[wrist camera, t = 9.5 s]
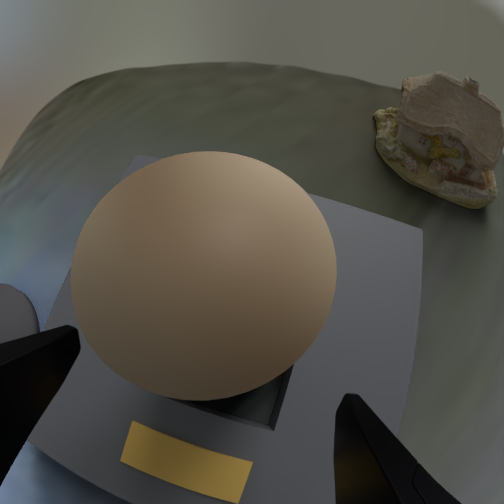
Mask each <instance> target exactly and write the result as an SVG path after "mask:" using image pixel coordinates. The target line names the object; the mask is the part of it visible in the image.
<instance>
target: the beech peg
mask: <svg viewBox="0 0 504 504" xmlns="http://www.w3.org/2000/svg"><path fill="white" fill-rule="evenodd" d="M336 278H337V265H336V254H335V248H334V243H333V239H332V236H331V233H330V231H329V228H328V225H327V223H326V221H325V219H324V217H323V215H322V213H321V212H320V210H319V209H318V207H317V206H316V204H315V203H314V201H313V200H312V199H311V198H310V196H309V195H308V194H307V193H306V192H305V191H304V190H303V189H302V188H301V187H300V186H299V185H298V184H297V183H296V182H294V181H293V180H292V179H291V178H289V177H288V176H286V175H285V174H284V173H282V172H281V171H279V170H277V169H275V168H273V167H272V166H270V165H268V164H266V163H263V162H261V161H258V160H256V159H253V158H250V157H246V156H242V155H238V154H232V153H226V152H212V151H205V152H191V153H185V154H179V155H175V156H171V157H167V158H164V159H161V160H159V161H156V162H153V163H151V164H149V165H147V166H145V167H143V168H141V169H139V170H137V171H135V172H134V173H132V174H131V175H129V176H128V177H126V178H125V179H123V180H122V181H121V182H120V183H118V184H117V185H116V186H115V187H113V188H112V189H111V190H110V191H109V192H108V193H107V194H106V195H105V196H104V197H103V198H102V200H101V201H100V202H99V203H98V205H97V206H96V207H95V208H94V210H93V211H92V213H91V214H90V216H89V218H88V219H87V221H86V222H85V225H84V227H83V229H82V231H81V233H80V235H79V238H78V241H77V244H76V247H75V250H74V255H73V260H72V265H71V280H70V282H71V295H72V301H73V306H74V310H75V314H76V317H77V320H78V322H79V325H80V328H81V330H82V332H83V334H84V335H85V337H86V339H87V341H88V343H89V344H90V346H91V347H92V348H93V350H94V351H95V352H96V354H97V355H98V356H99V357H100V359H101V360H102V361H103V362H104V363H106V364H107V365H108V366H109V367H110V368H111V369H112V370H113V371H114V372H115V373H117V374H118V375H120V376H121V377H122V378H124V379H125V380H127V381H128V382H130V383H132V384H134V385H136V386H138V387H140V388H142V389H144V390H146V391H149V392H152V393H155V394H158V395H161V396H164V397H169V398H175V399H181V400H214V399H221V398H228V397H232V396H235V395H239V394H242V393H245V392H248V391H251V390H253V389H255V388H257V387H259V386H262V385H264V384H266V383H268V382H270V381H271V380H273V379H274V378H276V377H277V376H279V375H280V374H282V373H283V372H285V371H286V370H287V369H288V368H289V367H291V366H292V365H293V364H294V363H295V362H296V361H297V360H298V359H299V358H301V356H302V355H303V354H304V353H305V352H306V350H307V349H308V348H309V347H310V346H311V344H312V343H313V342H314V340H315V339H316V337H317V335H318V334H319V332H320V330H321V329H322V327H323V325H324V323H325V321H326V318H327V316H328V314H329V311H330V309H331V305H332V301H333V297H334V293H335V287H336Z"/></svg>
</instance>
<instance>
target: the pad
mask: <svg viewBox="0 0 504 504" xmlns="http://www.w3.org/2000/svg"><path fill="white" fill-rule="evenodd" d="M39 332H40V330H39V322H38V318H37V314H36V311H35V309H34V307H33V305H32V303H31V301H30V300H29V298H28V297H27V296H26V295H25V294H24V293H22V292H21V291H19V290H18V289H16V288H15V287H13V286H11V285H8V284H0V344H1V343H4V342H8V341H11V340H15V339H18V338H22V337H25V336H29V335H32V334H36V333H39Z"/></svg>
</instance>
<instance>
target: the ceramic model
mask: <svg viewBox="0 0 504 504" xmlns="http://www.w3.org/2000/svg"><path fill="white" fill-rule="evenodd" d="M479 86H480V84H479V82H477V81H475V80H472V79H470V77H469V76H466V77H465V79H464V81H463V82H460V81H459V80H458V79H457V78H455V77H453V76H451V75H449V74H447V73H444V72H439V71H436V72H434V73H432V74H426V75H423V76H418V77H413V78H410V77H408V78H407V79H404V80H403V83H402V89H401V92H402V93H403V95H402V100H401V103H400V106H399V108H394V109H393V108H387V109H386V110H381V109H379V110H378V111H377V112H375V113H374V115H373V116H374V118H375V120H376V125H377V126H376V127H377V136H376V149H377V151H378V152H379V154H380V156H381V157H382V159H383V160H384V161H385V162H386V163H387V164H388V165H389V166H390V167H391V168H392V169H393V170H394V171H395V172H396V173H397V174H398V175H399V176H400V177H402V178H403V179H404V180H405V181H407V182H408V183H410V184H412V185H414V186H417V187H419V188H421V189H423V190H426V191H428V192H430V193H432V194H434V195H436V196H438V197H441V198H443V199H445V200H448V201H450V202H453V203H455V204H458V205H461V206H464V207H467V208H470V209H480V208H482V207H485V206H489V205H490V203H492V202H493V201H494V199H496V197H497V192H498V191H497V188H496V180H495V175H494V168H495V166H496V164H497V162H498V159H499V157H500V155H501V152H502V149H503V147H504V123H503V121H502V118H501V114H500V113H501V110H500V108H499V107H498V106H497V105H496V103H495V102H494V101H492V100H491V99H490V98H488V97H487V96H485V95H484V94H482V93H479V92H478V89H479Z"/></svg>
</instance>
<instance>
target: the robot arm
mask: <svg viewBox="0 0 504 504" xmlns="http://www.w3.org/2000/svg"><path fill="white" fill-rule="evenodd" d="M80 350H81V344H80V338H79V332H78V329H77V328H76V327H73V326H71V325H64V326H60V327H57V328H53V329H50V330H46V331H43V332H39V333H36V334H32V335H29V336H25V337H22V338H18V339H15V340H11V341H8V342H4V343H1V344H0V486H1V484H2V482H3V480H4V478H5V477H6V475H7V473H8V471H9V470H10V467H11V466H12V464H13V462H14V460H15V459H16V457H17V455H18V454H19V452H20V450H21V449H22V447H23V445H24V444H25V442H26V440H27V439H28V437H29V435H30V434H31V432H32V431H33V429H34V427H35V426H36V424H37V423H38V421H39V419H40V418H41V416H42V415H43V413H44V412H45V410H46V409H47V407H48V406H49V404H50V403H51V401H52V400H53V398H54V397H55V395H56V394H57V392H58V391H59V389H60V388H61V386H62V384H63V383H64V381H65V379H66V377H67V375H68V374H69V372H70V370H71V368H72V366H73V364H74V362H75V361H76V359H77V357H78V355H79V353H80ZM333 462H334V480H335V503H336V504H461V503H460V502H459V501H458V500H457V499H455V498H454V497H453V496H452V495H451V494H450V493H449V492H447V491H446V490H445V489H444V488H443V487H442V486H441V485H440V484H439V483H438V482H437V481H435V480H434V479H433V477H432V476H431V475H430V474H429V473H428V472H427V471H426V470H425V469H424V468H423V467H422V466H421V464H420V463H418V461H417V460H416V459H415V458H414V457H413V456H412V454H411V453H410V452H409V451H408V450H407V449H406V448H405V447H404V445H403V444H402V443H401V442H400V441H399V440H398V439H397V438H396V436H395V435H394V434H393V433H392V432H391V431H390V430H389V428H388V427H387V426H386V425H385V424H384V423H383V422H382V420H381V419H380V418H379V417H378V416H377V415H376V414H375V412H374V411H373V410H372V409H371V408H370V407H369V406H368V404H367V403H366V402H365V401H364V400H363V399H362V398H361V396H360V395H359V394H355V393H346V394H345V395H344V396H343V398H342V400H341V402H340V404H339V406H338V408H337V411H336V414H335V432H334V450H333Z"/></svg>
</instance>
